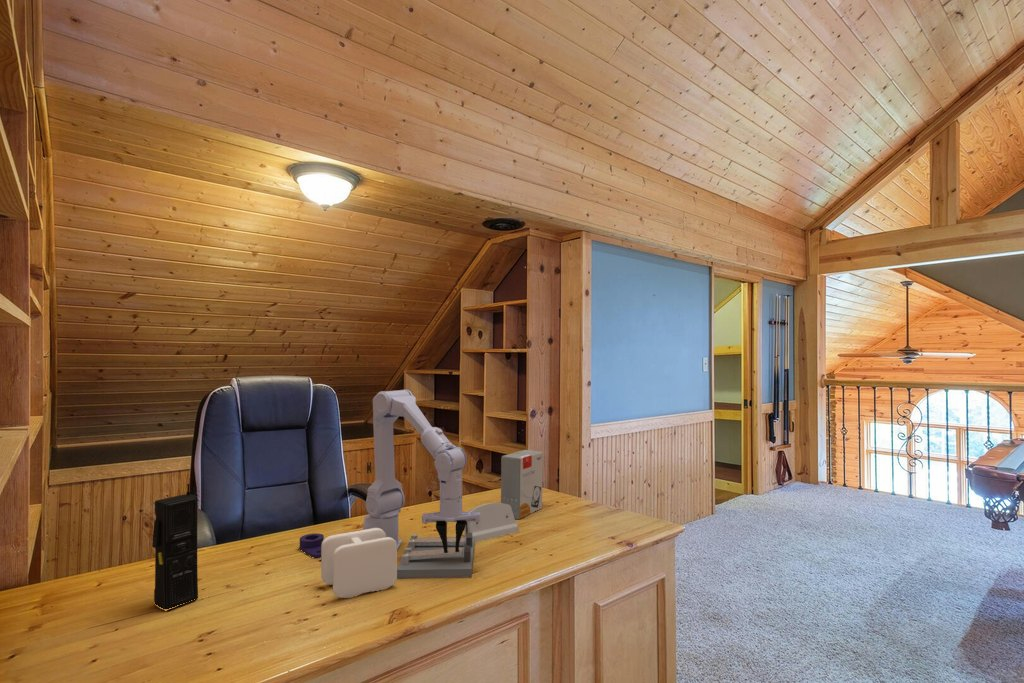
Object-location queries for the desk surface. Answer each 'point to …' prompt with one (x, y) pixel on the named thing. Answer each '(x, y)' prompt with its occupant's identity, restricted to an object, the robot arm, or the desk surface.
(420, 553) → the front strap
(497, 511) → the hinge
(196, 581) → the portable radio
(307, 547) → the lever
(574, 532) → the desk surface
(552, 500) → the desk surface
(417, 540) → the strip
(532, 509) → the hard drive box
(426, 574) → the base plate
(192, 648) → the desk surface
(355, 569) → the cable organizer
